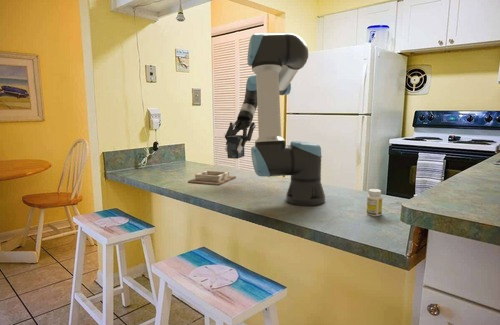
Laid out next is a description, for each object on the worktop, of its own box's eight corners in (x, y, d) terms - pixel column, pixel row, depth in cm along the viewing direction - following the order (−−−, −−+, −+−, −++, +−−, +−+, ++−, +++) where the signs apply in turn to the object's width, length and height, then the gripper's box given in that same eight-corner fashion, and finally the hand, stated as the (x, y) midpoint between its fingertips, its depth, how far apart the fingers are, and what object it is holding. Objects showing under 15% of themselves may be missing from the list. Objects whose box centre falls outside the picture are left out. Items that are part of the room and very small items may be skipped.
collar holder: (219, 185, 159) (219, 178, 159) (187, 182, 166) (187, 175, 166) (235, 177, 175) (235, 171, 175) (206, 175, 183) (206, 169, 182)
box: (238, 158, 156) (237, 136, 154) (227, 158, 158) (226, 136, 156) (245, 156, 163) (244, 134, 161) (234, 156, 165) (233, 134, 163)
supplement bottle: (378, 211, 116) (379, 188, 115) (383, 216, 111) (385, 191, 110) (364, 212, 116) (365, 188, 114) (369, 216, 111) (370, 192, 110)
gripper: (265, 119, 167) (253, 156, 155) (232, 119, 175) (218, 155, 163) (261, 109, 162) (248, 146, 150) (227, 109, 169) (212, 145, 157)
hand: (232, 151), depth 156 cm, fingers closed on box, 6 cm apart
